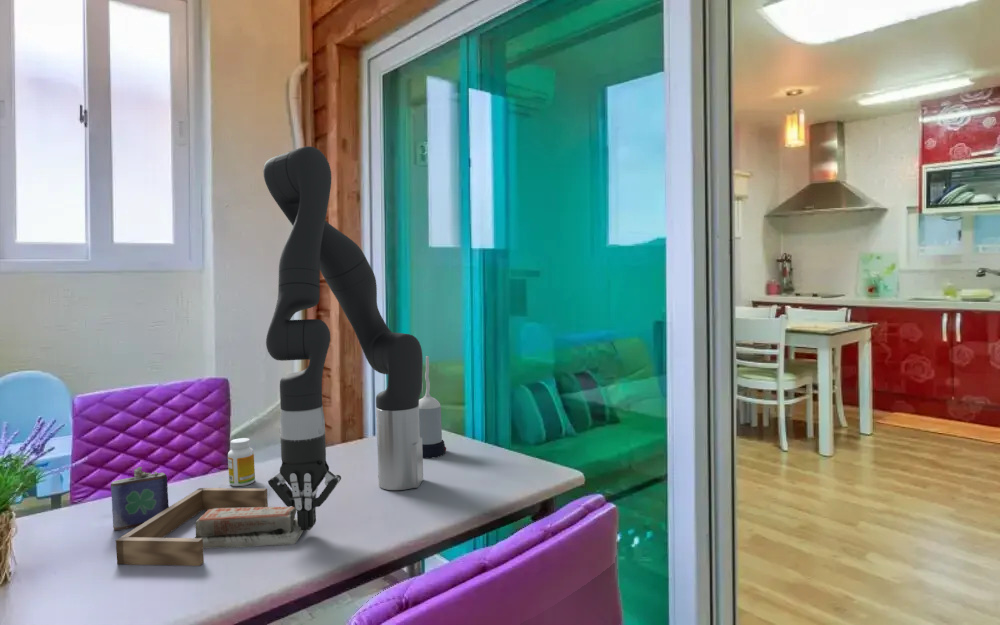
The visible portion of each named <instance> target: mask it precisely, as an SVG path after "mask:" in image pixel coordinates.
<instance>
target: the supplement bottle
mask: <svg viewBox="0 0 1000 625" xmlns="http://www.w3.org/2000/svg"><path fill="white" fill-rule="evenodd" d="M250 446H251V440H250V438H248V437H241V438H240V437H239V438H236V439H235V438H234V439H232V440H230V448H231V449H230V450H229V451H228V453H227V464H228V465H227V468H228V483H229V485H230V486H232V487H245V486H249V485H251V484H253V483H254V482H255V481H256V472H255V470H256V469H255V468H256V467H255V454H254V453H255V451H254V449H253V448H252V447H250Z"/></svg>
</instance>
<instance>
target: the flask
mask: <svg viewBox="0 0 1000 625" xmlns="http://www.w3.org/2000/svg"><path fill="white" fill-rule="evenodd" d="M142 469H143V467H142V466H138V467H136V468H134V470H133V473H134V474H133V475H134V476H133V477H128V478H127V477H126V478H123V479H117V480H113V481H112V482H110V492H111V493H110V494H111V509H112V510H111V512H112V527H113V530H114V531H119V530H120V531H124V530H128V529H131V528H133V529H135V528H136V527H138V526H139V525H141V524H143V523H144V522H146V521H147V520H149V519H151V518H152V517H154V516H156V515H157V514H159V513H160V512H162V511H164V510H165V509H167V508H168V507H170V506H169V493H168V490H169V489H168V487H169V486H168V476H167V475H166V473H164V472H157V471H153V472H152V473H151V472H145V471H143V470H142Z"/></svg>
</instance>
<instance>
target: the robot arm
mask: <svg viewBox="0 0 1000 625" xmlns="http://www.w3.org/2000/svg"><path fill="white" fill-rule="evenodd" d="M262 172H263V179H264V182H265V185H266V187H267V190H268V191H269V193H270V195H271V197H272V198H273V200H274V202H276V205H278V207H279V209H280V210H281V212H282V213H283V214H284V215H285V217H286V218H287V220H288V221H289V223H290V224H291V225H292V227H291V228H292V229H291V230H290V232H289V235H288V236H287V238H286V241H285V242H284V245H283V248H282V252H281V255H280V258H279V264H278V285H277V286H278V288H277V290H278V291H277V300H276V305H275V308H274V309H275V310H274V312H273V314H272V315H273V316H272V318H271V322H270V325H269V327H268V330H267V334H266V338H265V339H266V340H265V345H266V350H267V353H268V354H269V356H271V358H272V359H274V360H275V361H302V360H303V361H304V360H308V362H309V364H308V366H307V367H306V368H305V369H304V370H300V371H296V372H292V373H288V374H286V375H284V376H282V377H281V378H280V380H279V402H280V415H279V417H280V418H279V430H278V431H279V434H280V435H279V436H280V437H279V438H280V456H281V457H280V458H281V459H280V460H281V465H280V468H279V473H277V474H276V475H274V476H272V477H271V478H270V479H269V480H268V485H269V487H270V488H271V489H272V491H273V492H275V494H276V495H277V496H278V497H279V499H280V500H281V501H282V502H283V504H284V505H285V507H295V508H296V509H297V511H296V514H297V515H296V517H297V522H298V526H299V527H301V530H304V531H310V530H311V529H312V528H313V527H314V526H315V525H316V522H317V514H316V512H317V511H316V510H317V509H316V508H317V507H318V508H319V507H321V506H322V505H323V504H324V503H325V501H326V500H327V499H328V498H329V497H330V496H331V494H332V492H333V491H334V490H335V488H336V487H337V485H338V484H339V483H340V481H342V476H341V475H340V474H334V473H333V472H331V471H330V466H329V464H328V462H327V458H326V457H327V449H326V446H327V445H326V444H327V443H326V427H325V426H326V425H325V424H326V423H325V422H326V420H325V414H324V409H323V408H324V407H323V390H322V389H323V388H322V386H323V384H322V383H323V373H324V367H325V364H326V363H325V362H326V359H327V358H326V357H327V355H328V352H329V348H330V342H331V331H330V328H329V327H328V325H327V323H326V322H325V321H323V319H319V318H315V319H314V318H313V319H311V318H310V319H292V318H293V316H294V315H295V314H296V313H298V312H300V311H304V310H308V309H311V308H314V307H316V306H317V305H318V304H319V302H320V296H321V294H320V292H321V291H320V289H321V286H320V285H321V281H320V280H321V277H320V276H321V275H322V277H323V279H324V281H325V282H326V284H327V285H328V287H329V289H330V291H331V292H332V294H333V295H334V297H335V299H336V300H337V302H338V303H339V305H340V307H341V310H342V311H343V313H344V315H345V317H346V318H347V320H348V322H349V323H350V325H351V327H352V329H353V332H354V333H355V335H356V337H357V341H358V342H359V345H360V348H361V350H362V351H363V354H364V356H365V358H366V361H367V363H368V364H369V365H370V367H371V368H372V369H373V370H374V371H376V372H377V373H379V374H382V375H387V377H388V378H387V387H386V389H385V390H383V391H380V392H378V393H377V394H376V397H375V407H376V408H375V411H376V441H377V442H376V443H377V445H376V446H377V470H378V471H377V473H378V474H377V475H378V487H379V488H381V489H383V490H388V491H403V490H405V491H406V490H409V489H418V488H419V487H420V485H421V483H423V480H424V462H423V461H424V458H423V451H422V438H421V437H420V428H419V400H420V396H421V393H422V384H423V376H422V371H423V366H424V364H423V362H424V360H423V359H424V358H423V349H422V345H421V342H420V341H419V339H418V338H417V337H416V336H414V335H412V334H411V333H410V334H409V333H402V332H393V331H391V329H390V328H389V327H388V326H387V324H386V322H385V320H384V318H383V316H382V314H381V312H380V310H379V308H378V299H377V298H378V294H377V292H378V291H377V290H378V288H377V287H378V285H377V278H376V275H375V273H374V271H373V268H372V267H371V265H370V263H369V261H368V259H367V257H366V255H365V254H364V252H363V250H362V249H361V248H360V246H359V245H358V244H357V243H356V242H355V241H354V240H352V239H351V238H350V237H348V235H346V234H344V233H343V232H341V231H340V230H339V229H337V228H336V227H335V226H333V225H332V224H331V223H329V222H328V221H327V220H326V219H327V213H328V207H329V202H330V196H331V189H332V171H331V166H330V163H329V160H328V159H327V157H326V156H325V155H324V153H323V152H322V151H321V150H320V149H318V148H316V147H315V146H309V145H308V146H307V145H306V146H302V147H298V148H295V149H293V150H291V151H287V152H284V153H282V154H279V155H276V156H273V157H271V158H269V159H267V161H265V164H264V165H263V170H262ZM320 273H321V274H320ZM324 479H325V480H324ZM323 480H324V485H325V487H324V489H323V490H322V491H321V493H320V494H319V495H318V494H317V493H318V490H319V489H318V488H319V486H320V485H321V483H322V482H323ZM317 495H318V497H317Z"/></svg>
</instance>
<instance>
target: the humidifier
mask: <svg viewBox="0 0 1000 625" xmlns="http://www.w3.org/2000/svg"><path fill="white" fill-rule="evenodd" d="M423 372H424V371H423V370H422V377H423V376H424V378H425V384H426V386H425V387H426V389H425V394H424V389H423V386H424V385H423V383H422V390H421V393H422V394H424V395H423V396H422V398H419V428H420V437H421V438H422V451H423V459H433V458H432V457H435V458H439V457H442V456H444V455H445V454H446V451H447V447H446V444H445V441H444V440H443V439H442V438H443V433H442V429H443V428H442V427H443V426H442V407H441V405H442V404H441V403H440V402H439V401H438V399H436V398H435V397H432V396H431V393H430V390H431V382H430V378H429V375H430V356H429V355H428V356H427V355H426V356H425V374H423ZM443 454H444V455H443ZM441 455H442V456H441ZM438 456H439V457H438Z"/></svg>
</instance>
